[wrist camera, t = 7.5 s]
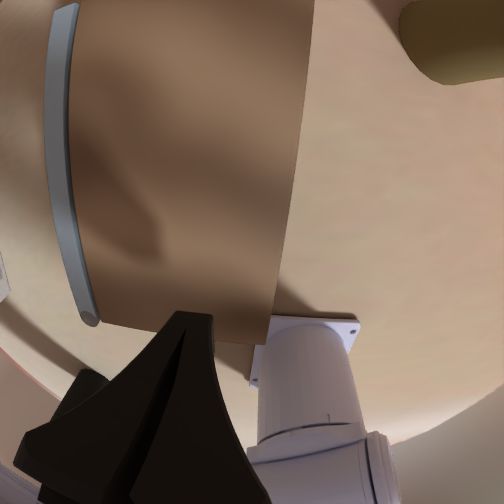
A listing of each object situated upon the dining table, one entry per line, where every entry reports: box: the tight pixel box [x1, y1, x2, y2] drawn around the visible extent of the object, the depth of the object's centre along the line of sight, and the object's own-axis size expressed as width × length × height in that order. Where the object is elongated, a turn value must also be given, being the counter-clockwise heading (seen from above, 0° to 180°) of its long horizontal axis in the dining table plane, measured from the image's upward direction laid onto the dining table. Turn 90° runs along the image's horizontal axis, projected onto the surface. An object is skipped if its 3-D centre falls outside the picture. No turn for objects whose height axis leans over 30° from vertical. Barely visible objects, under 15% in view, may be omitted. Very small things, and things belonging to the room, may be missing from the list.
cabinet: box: [69, 0, 315, 345], centre depth 12 cm, size 16×9×6 cm, turn 175°
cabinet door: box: [44, 3, 101, 327], centre depth 12 cm, size 17×3×6 cm, turn 175°
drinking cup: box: [50, 369, 110, 421], centre depth 19 cm, size 8×8×20 cm
